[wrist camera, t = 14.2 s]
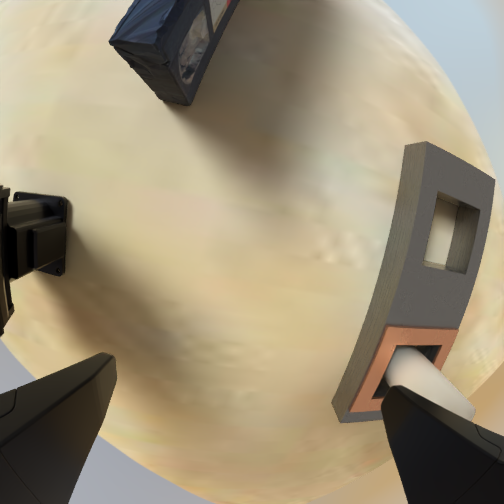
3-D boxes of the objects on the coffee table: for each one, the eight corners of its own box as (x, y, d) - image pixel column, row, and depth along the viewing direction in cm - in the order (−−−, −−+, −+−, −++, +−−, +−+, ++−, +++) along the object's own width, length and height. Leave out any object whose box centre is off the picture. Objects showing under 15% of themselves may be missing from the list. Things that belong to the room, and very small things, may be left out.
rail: (331, 402, 24) (340, 425, 20) (405, 145, 19) (428, 140, 15) (402, 398, 25) (415, 416, 21) (473, 178, 20) (497, 179, 16)
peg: (365, 364, 23) (421, 447, 12) (392, 329, 22) (463, 402, 12) (391, 375, 24) (445, 449, 13) (416, 343, 23) (482, 409, 12)
